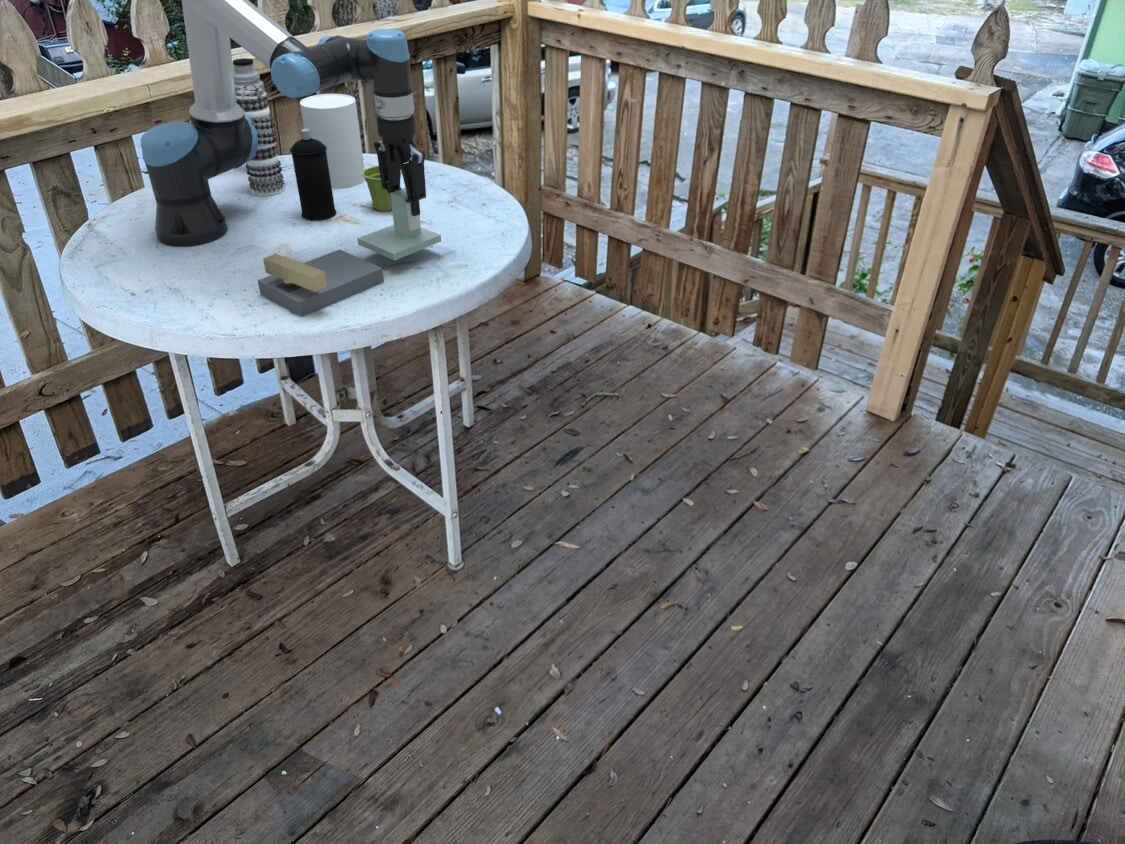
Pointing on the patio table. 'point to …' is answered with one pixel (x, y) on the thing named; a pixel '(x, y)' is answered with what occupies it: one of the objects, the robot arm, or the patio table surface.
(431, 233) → the cover
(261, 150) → the decorative candle
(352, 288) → the plate
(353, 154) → the canister
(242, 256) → the patio table surface
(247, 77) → the thermos bottle
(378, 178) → the plant pot
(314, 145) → the aerosol can
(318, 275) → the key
